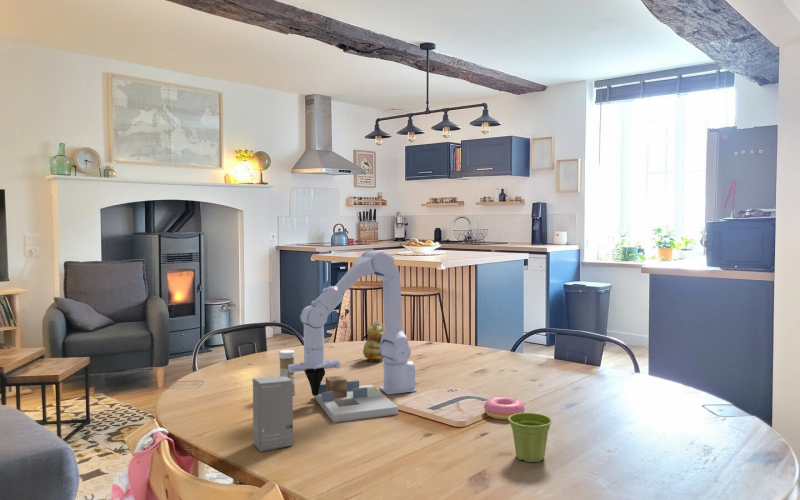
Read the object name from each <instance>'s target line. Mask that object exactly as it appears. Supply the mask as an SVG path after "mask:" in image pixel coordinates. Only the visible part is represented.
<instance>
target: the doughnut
mask: <svg viewBox="0 0 800 500" xmlns="http://www.w3.org/2000/svg"><path fill="white" fill-rule="evenodd" d="M483 409H484V412H485V411H486V413H487V414H486V413H485V414H486V415H487V416H488V417H490V418H491V419H496V420H503V421H504V420H505V421H509V420H508V418H509V416H511V415H513V414H517V413H525V405H524V403H523V402H522V401H521V400H520V399H518V398H514V397H510V396H505V395H504V396H500V395H499V396H496V397H495V396H494V397H489V399H487V400H486V401H485V402H484V404H483Z"/></svg>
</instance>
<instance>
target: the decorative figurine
mask: <svg viewBox="0 0 800 500" xmlns="http://www.w3.org/2000/svg"><path fill="white" fill-rule="evenodd" d="M372 324H373V325H370V327H368V329H367V336H368V338H367V341H366V342H364V345H363V350H362V352H363V354H362V355H363V356H364V358H365V359H368V362H375V363H377V362H378V363H380V362H383V361H384V360H383V356H382V355H381V354H380V351H379V347H380V344H381V340H382V334H383V333H384V332H385V329H384V328H383V327H384V325H383V324H384V323H382V322H380V320H379V319H377V320H375V321H374V323H372Z"/></svg>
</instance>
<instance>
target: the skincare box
mask: <svg viewBox="0 0 800 500" xmlns="http://www.w3.org/2000/svg"><path fill="white" fill-rule="evenodd" d="M292 381H293V380H291V379H290V378H288V377H286V376H280V375H277V376H276V375H275V376H271V375H270V376H264V377H256V378H255V377H253V378H252V443H253V444H254V446H255V447H256V448H257V449H258V450H259V452H260V453H261V452H265V451H266V452H267V451H271V450H277V449H281V448H287V447H292V446H293V445H294V433H293V432H294V419H293V418H294V412H293V411H294V407H293V406H294V405H293V403H294V402H293V401H294V398H293V397H294V395H293V382H292Z"/></svg>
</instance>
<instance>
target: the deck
mask: <svg viewBox="0 0 800 500" xmlns="http://www.w3.org/2000/svg"><path fill="white" fill-rule="evenodd" d="M314 399H315V400H316V402H317V403H318V404H319V405H320V406H321V408H322V409H323V410H324V412H325V413H326V414H327V416H328V417H329V419H330V420H331V421H332V422H333V423H338V422H347V421H355V420H363V419H371V418H377V417H385V416H393V415H399V406H398V405H397V404H395V402H393V401H392V400H391V399H389V398H388V396H386V395H385V394H384V393H382V392H381V391H380V390H379V389H378V388H377V387H376V386H375V385H373V384H365V385H364V384H363V385H360V380H358V379H356V380H347V397H340V398H333V391H327V392H326V382H325V383H321V384H320V387H319V392H318V395H316V396H314Z"/></svg>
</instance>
